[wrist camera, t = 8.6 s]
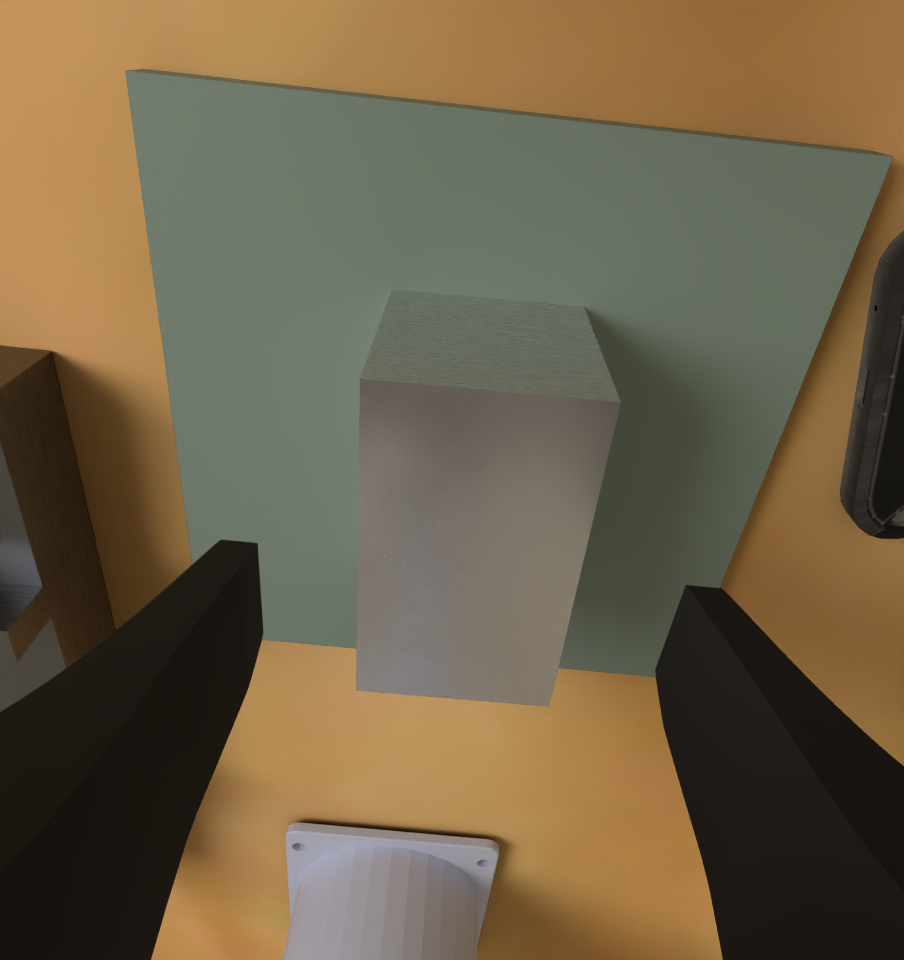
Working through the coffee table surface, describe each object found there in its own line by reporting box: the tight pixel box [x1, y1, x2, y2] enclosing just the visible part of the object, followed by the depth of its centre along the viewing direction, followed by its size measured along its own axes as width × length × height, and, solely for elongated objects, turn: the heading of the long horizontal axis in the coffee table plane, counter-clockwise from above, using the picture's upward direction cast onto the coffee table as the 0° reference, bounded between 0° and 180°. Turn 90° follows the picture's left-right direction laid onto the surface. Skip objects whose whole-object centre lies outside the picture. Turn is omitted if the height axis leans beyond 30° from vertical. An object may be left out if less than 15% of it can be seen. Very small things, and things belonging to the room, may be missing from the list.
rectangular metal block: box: [356, 289, 621, 707], centre depth 14 cm, size 7×4×4 cm, turn 175°
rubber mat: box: [125, 69, 893, 677], centre depth 17 cm, size 14×14×1 cm
